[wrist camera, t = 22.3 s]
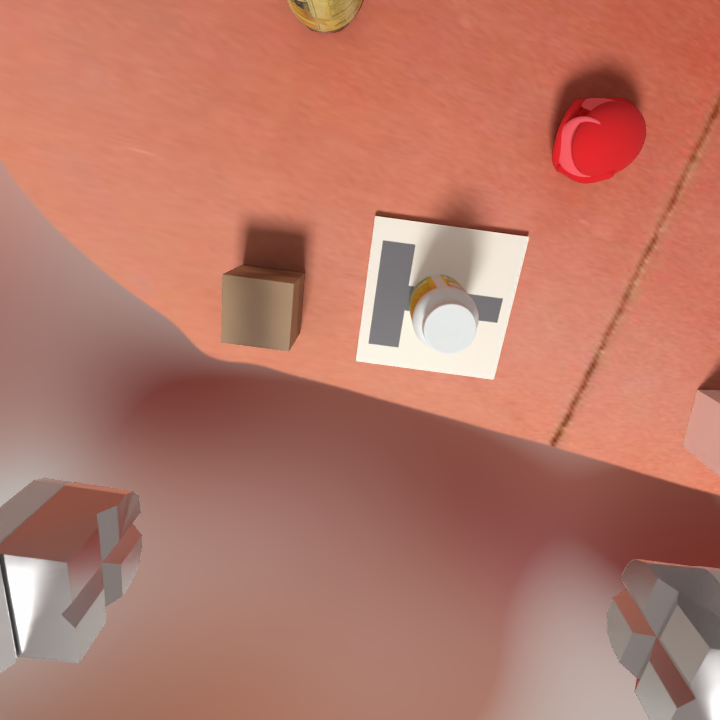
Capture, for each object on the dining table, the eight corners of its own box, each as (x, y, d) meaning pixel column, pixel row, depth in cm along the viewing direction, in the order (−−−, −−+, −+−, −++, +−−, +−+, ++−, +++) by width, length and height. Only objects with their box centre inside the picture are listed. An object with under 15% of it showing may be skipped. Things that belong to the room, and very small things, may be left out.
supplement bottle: (463, 270, 42) (486, 290, 33) (465, 326, 44) (488, 359, 35) (405, 277, 42) (412, 298, 33) (410, 331, 44) (417, 366, 35)
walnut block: (305, 272, 43) (293, 283, 38) (300, 332, 45) (288, 351, 40) (243, 264, 43) (222, 274, 38) (240, 324, 45) (221, 342, 40)
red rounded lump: (532, 178, 37) (607, 201, 34) (561, 94, 33) (648, 113, 30) (563, 162, 42) (630, 181, 39) (591, 88, 38) (667, 104, 35)
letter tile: (527, 236, 41) (529, 237, 41) (492, 377, 46) (493, 379, 45) (375, 215, 41) (375, 215, 40) (356, 359, 46) (355, 360, 45)
